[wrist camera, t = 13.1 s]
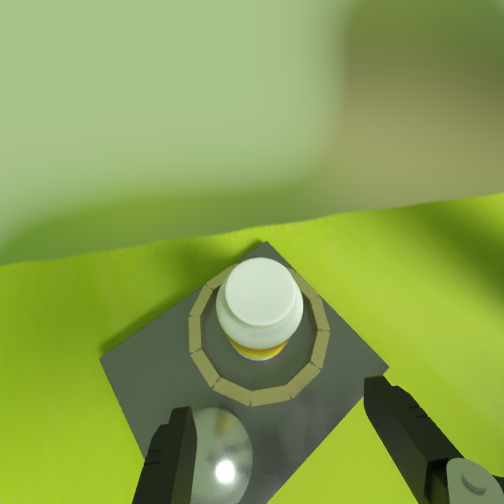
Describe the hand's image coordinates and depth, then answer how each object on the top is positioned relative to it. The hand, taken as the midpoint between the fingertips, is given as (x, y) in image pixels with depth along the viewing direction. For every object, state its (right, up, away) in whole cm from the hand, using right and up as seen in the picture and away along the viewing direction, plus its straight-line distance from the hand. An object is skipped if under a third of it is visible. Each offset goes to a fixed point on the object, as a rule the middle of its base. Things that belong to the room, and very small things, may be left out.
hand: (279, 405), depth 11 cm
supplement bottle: (-1, 0, +11) cm, 11 cm away
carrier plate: (-2, -3, +11) cm, 11 cm away
